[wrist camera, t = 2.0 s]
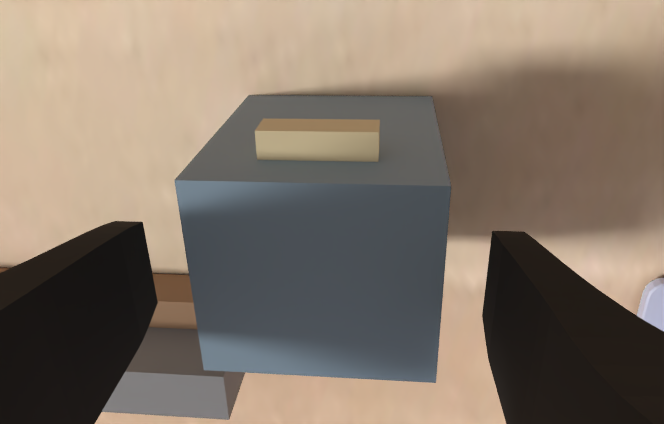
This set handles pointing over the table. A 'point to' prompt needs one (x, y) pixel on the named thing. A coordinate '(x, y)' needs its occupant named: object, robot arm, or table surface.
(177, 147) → the table surface
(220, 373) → the grey and brown bar
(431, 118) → the cabinet
